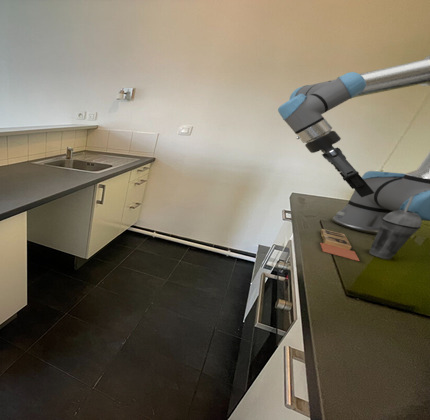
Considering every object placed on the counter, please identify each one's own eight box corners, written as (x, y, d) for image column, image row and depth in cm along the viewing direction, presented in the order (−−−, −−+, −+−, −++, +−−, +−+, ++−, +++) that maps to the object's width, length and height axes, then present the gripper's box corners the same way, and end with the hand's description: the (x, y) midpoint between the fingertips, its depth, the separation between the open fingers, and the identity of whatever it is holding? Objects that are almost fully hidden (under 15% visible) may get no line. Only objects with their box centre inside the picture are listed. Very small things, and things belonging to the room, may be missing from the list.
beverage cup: (405, 263, 75) (448, 202, 67) (377, 259, 76) (416, 199, 69) (381, 251, 81) (418, 194, 74) (355, 248, 83) (389, 192, 75)
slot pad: (320, 243, 85) (320, 242, 85) (354, 251, 80) (354, 251, 80) (322, 251, 79) (323, 251, 79) (359, 261, 75) (359, 261, 74)
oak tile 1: (319, 232, 94) (321, 228, 93) (342, 237, 90) (344, 233, 89) (321, 237, 89) (323, 233, 89) (345, 243, 86) (348, 239, 85)
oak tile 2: (322, 238, 89) (324, 234, 88) (346, 244, 85) (348, 240, 84) (324, 244, 84) (326, 239, 84) (349, 250, 81) (352, 246, 80)
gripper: (301, 142, 93) (339, 189, 89) (306, 146, 75) (353, 205, 72) (328, 128, 87) (369, 178, 84) (339, 130, 70) (392, 192, 66)
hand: (362, 190), depth 78 cm, fingers open, 13 cm apart
